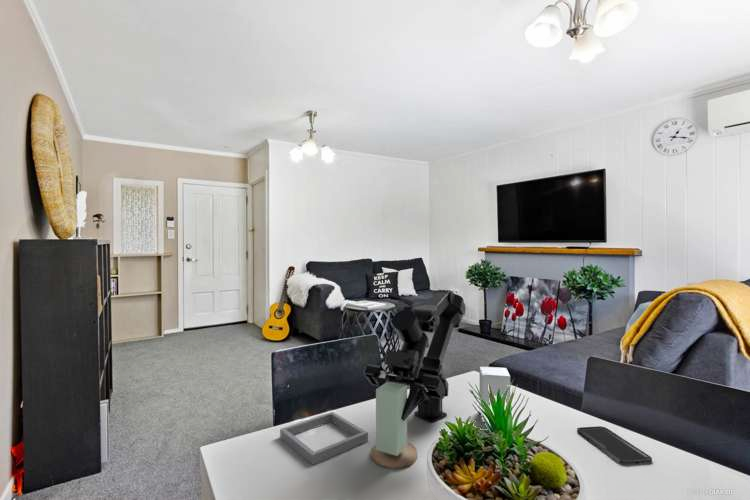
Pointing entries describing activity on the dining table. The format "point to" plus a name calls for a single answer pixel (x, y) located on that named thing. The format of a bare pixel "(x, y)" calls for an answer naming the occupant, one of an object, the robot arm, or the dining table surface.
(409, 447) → the coaster
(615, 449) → the phone
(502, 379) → the supplement box
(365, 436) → the tray
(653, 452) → the dining table surface
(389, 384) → the green block
